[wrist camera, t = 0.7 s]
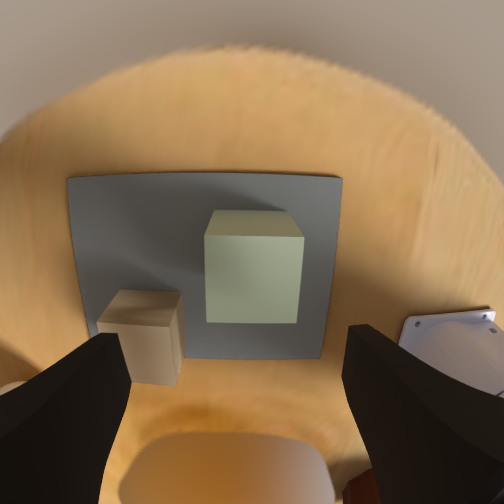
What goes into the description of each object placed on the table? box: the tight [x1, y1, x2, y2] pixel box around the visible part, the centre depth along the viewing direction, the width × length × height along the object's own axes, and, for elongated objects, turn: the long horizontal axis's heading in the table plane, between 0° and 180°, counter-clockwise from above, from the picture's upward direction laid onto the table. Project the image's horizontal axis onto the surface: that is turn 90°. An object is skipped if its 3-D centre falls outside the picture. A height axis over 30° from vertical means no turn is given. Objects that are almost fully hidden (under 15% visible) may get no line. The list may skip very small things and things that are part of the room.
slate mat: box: [67, 172, 343, 360], centre depth 19 cm, size 16×12×1 cm
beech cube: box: [97, 289, 186, 386], centre depth 18 cm, size 4×4×4 cm
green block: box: [204, 210, 305, 323], centre depth 16 cm, size 4×4×5 cm
